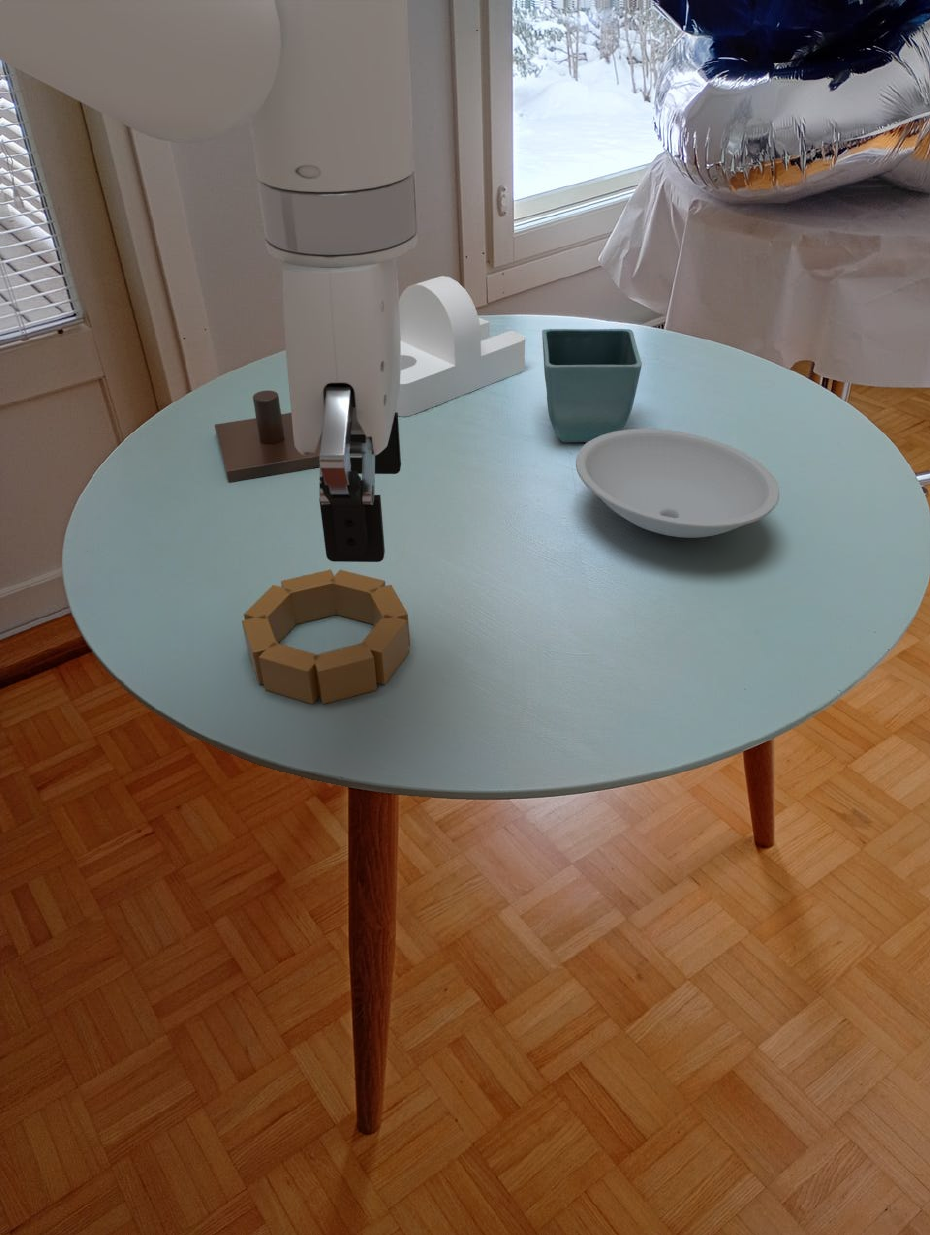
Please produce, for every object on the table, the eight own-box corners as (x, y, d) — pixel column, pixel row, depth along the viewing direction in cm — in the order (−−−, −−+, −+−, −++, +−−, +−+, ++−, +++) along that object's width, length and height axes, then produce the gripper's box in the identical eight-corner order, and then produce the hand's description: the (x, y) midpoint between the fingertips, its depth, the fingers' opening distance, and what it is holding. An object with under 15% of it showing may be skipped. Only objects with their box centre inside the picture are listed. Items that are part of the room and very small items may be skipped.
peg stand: (228, 482, 91) (218, 427, 88) (216, 435, 99) (206, 382, 95) (334, 464, 94) (328, 409, 90) (314, 419, 101) (308, 367, 98)
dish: (535, 517, 86) (537, 466, 82) (640, 460, 93) (644, 411, 90) (703, 603, 75) (712, 549, 72) (805, 531, 83) (816, 479, 80)
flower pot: (634, 453, 94) (643, 364, 89) (542, 453, 94) (545, 365, 89) (624, 412, 101) (632, 327, 96) (538, 412, 101) (541, 328, 96)
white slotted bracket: (529, 368, 110) (531, 272, 103) (402, 418, 101) (396, 316, 94) (472, 344, 116) (471, 251, 109) (348, 389, 107) (338, 291, 100)
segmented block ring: (270, 718, 66) (263, 685, 64) (238, 623, 74) (232, 591, 73) (426, 676, 69) (424, 644, 67) (379, 590, 78) (376, 558, 76)
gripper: (295, 169, 55) (326, 443, 65) (222, 273, 41) (276, 598, 52) (428, 168, 55) (438, 444, 65) (399, 272, 41) (418, 600, 52)
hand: (366, 512), depth 58 cm, fingers open, 9 cm apart
